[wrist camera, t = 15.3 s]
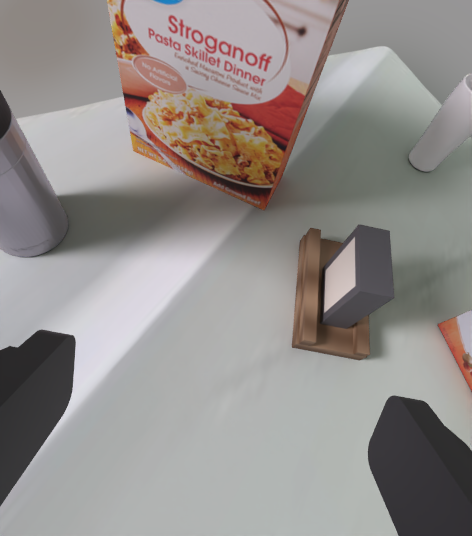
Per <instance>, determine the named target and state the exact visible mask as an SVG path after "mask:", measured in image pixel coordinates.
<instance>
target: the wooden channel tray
mask: <svg viewBox="0 0 472 536" xmlns="http://www.w3.org/2000/svg"><path fill="white" fill-rule="evenodd" d="M320 237H321V230H319V229H314V228H310V229H309V231H308V232H307V234H306V235H304V236H303V238H302V239H301V241H300V247H299V260H298V273H297V286H296V300H295V313H294V326H293V339H292V348H298V349H303V350H308V351H314V352H319V353H324V354H329V355H335V356H340V357H345V358H351V359H356V360H361V359H363V358H366V357H367V356H368V355H370V346H369V315H367V316H366V317H364V318H363V319H361V320H359V321H358V322H356V323H355V324H353V325H352V326H350V327H349V328H347V329H344V328H339V327H334V326H329V325H323V324H320V310H321V285H322V268H323V267H324V266H325V265H326V263H327V262H328V261H329V260H330V259H331V257H332V256H333V255H334V254H335V253H336V251H337V250H338V249H339V248H340V247H341V245H342V244H343V243H340V242H335V241H331V240H326V239H321V238H320Z"/></svg>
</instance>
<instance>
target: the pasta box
mask: <svg viewBox="0 0 472 536" xmlns="http://www.w3.org/2000/svg"><path fill="white" fill-rule="evenodd" d="M348 1H349V0H107V4H108V10H109V15H110V21H111V27H112V32H113V38H114V43H115V49H116V55H117V61H118V66H119V72H120V78H121V83H122V89H123V94H124V100H125V106H126V112H127V117H128V123H129V129H130V134H131V140H132V146H133V151H135V152H137V153H139V154H141V155H143V156H146V157H148V158H150V159H152V160H154V161H157V162H159V163H161V164H163V165H165V166H168V167H170V168H172V169H174V170H176V171H179V172H181V173H183V174H185V175H187V176H190V177H192V178H194V179H196V180H198V181H200V182H203V183H205V184H207V185H209V186H211V187H214V188H216V189H218V190H220V191H222V192H225V193H227V194H229V195H231V196H233V197H236V198H238V199H240V200H242V201H244V202H247V203H249V204H251V205H253V206H255V207H258V208H260V209H262V210H265V208H266V206H267V204H268V202H269V200H270V198H271V196H272V194H273V192H274V190H275V189H276V187H277V185H278V183H279V181H280V179H281V177H282V175H283V172H284V170H285V167H286V164H287V162H288V159H289V156H290V154H291V151H292V149H293V146H294V143H295V141H296V138H297V135H298V133H299V130H300V127H301V125H302V122H303V120H304V117H305V114H306V112H307V109H308V106H309V104H310V101H311V99H312V96H313V93H314V91H315V88H316V85H317V83H318V80H319V77H320V75H321V72H322V70H323V67H324V64H325V62H326V59H327V56H328V53H329V51H330V48H331V46H332V43H333V41H334V38H335V35H336V33H337V30H338V27H339V25H340V22H341V20H342V17H343V14H344V12H345V9H346V6H347V4H348Z"/></svg>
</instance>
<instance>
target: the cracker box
mask: <svg viewBox="0 0 472 536" xmlns="http://www.w3.org/2000/svg"><path fill="white" fill-rule="evenodd" d="M438 326H439V328H440V330H441V332H442V334H443V336H444V338H445V340H446V342H447V344H448V346H449V348H450V350H451V352H452V354H453V356H454V358H455V359H456V361H457V363H458V365H459V367H460V369H461V371H462V373H463V375H464V377H465V379H466V381H467V383H468V385H469V387H470V389H471V391H472V310H470V311H468V312H465V313H463V314H461V315H458V316H456V317H454V318H451V319H449V320H447V321H444V322H442V323H440V324H438Z"/></svg>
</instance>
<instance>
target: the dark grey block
mask: <svg viewBox="0 0 472 536" xmlns="http://www.w3.org/2000/svg"><path fill="white" fill-rule="evenodd" d="M393 298H394V288H393V274H392V259H391V245H390V231H388V230H383V229H378V228H373V227H369V226H364V225H358V226H357V227H356V228H355V230H354V231H353V232H352V233H351V235H350V236H349V237H348V238H347V239H346V241H345V242H344V243H343V244H342V245H341V247H340V248H339V249H338V250H337V251H336V253H335V254H334V255H333V256H332V257H331V259H330V260H329V261H328V262H327V263H326V265H325V266H324V267H323V268H322V285H321V310H320V324H323V325H329V326H334V327H339V328H344V329H347V328H349V327H350V326H352V325H353V324H355V323H356V322H358V321H359V320H361V319H363V318H364V317H366V316H367V315H369V314H370V313H372V312H373V311H375V310H376V309H378V308H379V307H381V306H382V305H384V304H386V303H387V302H389V301H390V300H392V299H393Z"/></svg>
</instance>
